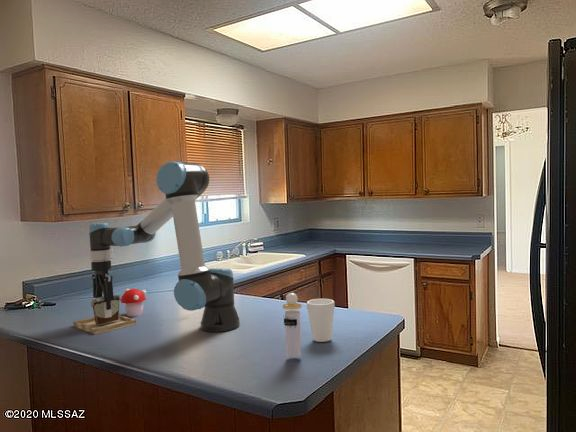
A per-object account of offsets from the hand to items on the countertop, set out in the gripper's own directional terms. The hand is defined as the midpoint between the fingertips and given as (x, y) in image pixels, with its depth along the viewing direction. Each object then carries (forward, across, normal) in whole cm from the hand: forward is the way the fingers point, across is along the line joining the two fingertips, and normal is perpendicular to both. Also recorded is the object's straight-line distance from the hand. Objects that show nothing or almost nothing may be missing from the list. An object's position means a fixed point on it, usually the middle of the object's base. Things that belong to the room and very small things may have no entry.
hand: (104, 316), depth 185 cm
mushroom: (+4, +5, -16) cm, 17 cm away
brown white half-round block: (+3, 0, 0) cm, 3 cm away
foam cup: (+4, -85, -37) cm, 93 cm away
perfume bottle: (+4, -89, -18) cm, 91 cm away
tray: (+4, 0, 0) cm, 4 cm away
